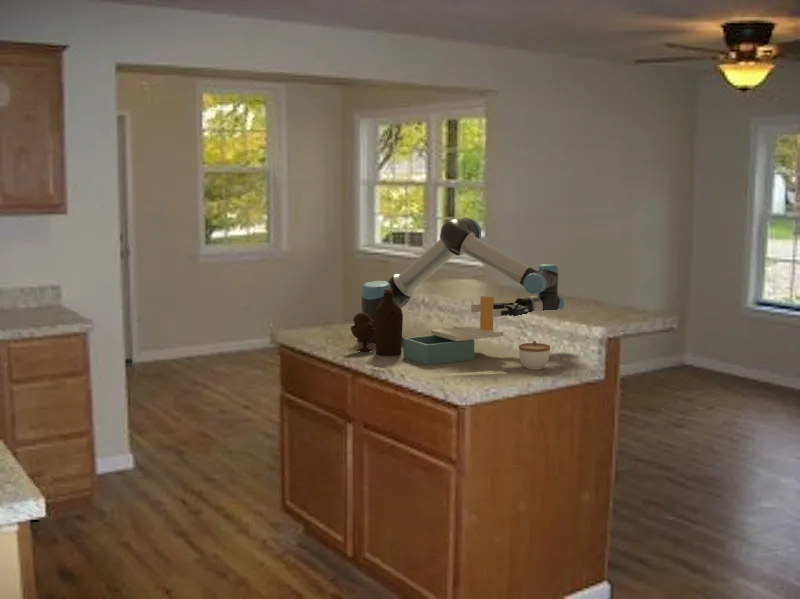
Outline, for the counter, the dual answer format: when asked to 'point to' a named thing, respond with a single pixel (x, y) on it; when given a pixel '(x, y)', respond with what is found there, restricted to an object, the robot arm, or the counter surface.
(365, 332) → the ice cream bowl
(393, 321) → the olive oil
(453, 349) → the tub
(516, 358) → the counter surface
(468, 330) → the lid
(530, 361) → the lidded jar
